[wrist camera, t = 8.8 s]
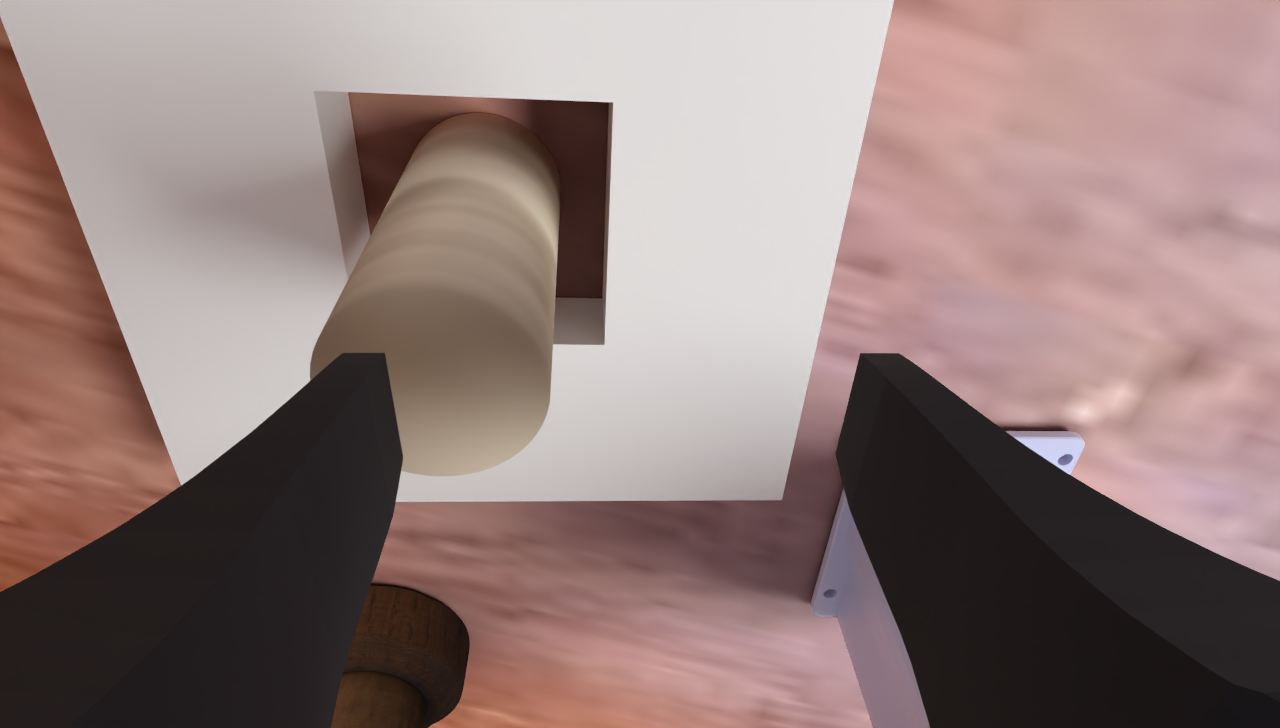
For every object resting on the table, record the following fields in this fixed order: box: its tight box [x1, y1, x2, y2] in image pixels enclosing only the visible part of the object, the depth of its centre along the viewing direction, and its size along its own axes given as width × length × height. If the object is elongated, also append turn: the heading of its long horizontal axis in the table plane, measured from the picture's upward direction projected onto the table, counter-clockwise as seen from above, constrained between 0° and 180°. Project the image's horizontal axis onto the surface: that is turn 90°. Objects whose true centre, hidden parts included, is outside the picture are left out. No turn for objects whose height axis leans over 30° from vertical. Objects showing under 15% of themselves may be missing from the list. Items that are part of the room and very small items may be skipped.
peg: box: [310, 113, 561, 476], centre depth 17 cm, size 4×4×9 cm
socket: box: [0, 0, 894, 502], centre depth 19 cm, size 18×18×2 cm
